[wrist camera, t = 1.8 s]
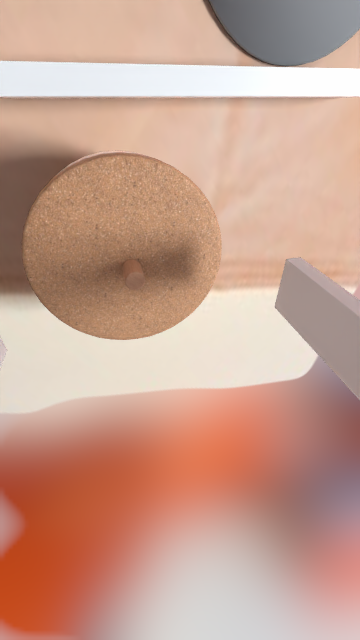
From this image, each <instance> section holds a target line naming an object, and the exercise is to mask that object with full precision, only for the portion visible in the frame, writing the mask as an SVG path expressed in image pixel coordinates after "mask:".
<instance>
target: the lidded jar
mask: <svg viewBox="0 0 360 640" xmlns="http://www.w3.org/2000/svg"><path fill="white" fill-rule="evenodd" d="M221 245H222V243H221V235H220V228H219V225H218V221H217V218H216V215H215V213H214V211H213V209H212V207H211V205H210V203H209V201H208V200H207V198H206V197H205V195H204V194H203V193H202V191H201V190H200V189H199V188H198V187H197V186H196V185H195V184H194V183H193V182H192V181H191V180H190V179H189V178H188V177H187V176H185V175H184V174H183V173H181V172H180V171H178V170H177V169H175V168H174V167H172V166H171V165H168V164H166V163H164V162H162V161H160V160H158V159H155V158H152V157H149V156H146V155H142V154H138V153H135V152H129V151H117V150H116V151H105V152H98V153H95V154H91V155H88V156H85V157H83V158H81V159H79V160H77V161H75V162H73V163H71V164H69V165H68V166H67V167H65V168H64V169H63V170H62V171H60V172H59V173H58V174H57V175H56V176H55V177H53V178H52V179H51V180H50V181H49V183H48V184H47V185H46V186H45V187H44V188H43V189H42V190H41V192H40V193H39V195H38V196H37V198H36V200H35V202H34V203H33V205H32V207H31V208H30V210H29V213H28V216H27V219H26V222H25V225H24V229H23V236H22V260H23V264H24V268H25V272H26V276H27V278H28V280H29V283H30V285H31V287H32V289H33V291H34V292H35V294H36V295H37V297H38V298H39V300H40V301H41V302H42V304H43V305H44V306H45V307H46V308H47V309H48V310H49V311H50V312H51V313H52V314H53V315H55V316H56V317H57V318H58V319H59V320H61V321H62V322H64V323H65V324H67V325H69V326H71V327H72V328H74V329H76V330H79V331H81V332H83V333H86V334H89V335H92V336H96V337H99V338H106V339H115V340H129V339H138V338H143V337H148V336H152V335H155V334H157V333H160V332H163V331H165V330H167V329H169V328H171V327H173V326H175V325H176V324H178V323H179V322H181V321H183V320H184V319H185V318H186V317H188V316H189V315H190V314H191V313H192V312H193V311H194V310H195V309H196V308H197V307H198V306H199V305H200V304H201V302H202V301H203V300H204V298H205V297H206V296H207V294H208V293H209V291H210V289H211V287H212V285H213V283H214V281H215V278H216V275H217V273H218V270H219V265H220V260H221Z"/></svg>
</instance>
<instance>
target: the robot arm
mask: <svg viewBox="0 0 360 640" xmlns="http://www.w3.org/2000/svg"><path fill="white" fill-rule="evenodd" d="M275 308H276V309H277V310H278V311H279V312H280V313H281V315H282V316H283V317H284V318H285V319H286V320H287V321H288V322H289V323H290V324H291V326H292V327H293V328H294V329H295V330H296V331H297V332H298V333H299V334H300V335H301V336H302V338H303V339H304V340H305V341H306V342H307V343H308V344H309V345H310V346H311V347H312V349H313V350H314V351H315V352H316V353H317V354H318V355H319V356H320V357H321V358H322V359H323V361H325V363H326V364H327V365H328V366H329V367H330V368H331V369H332V370H333V372H334V373H335V374H336V375H337V376H338V377H339V378H340V379H341V380H342V381H343V383H344V384H345V385H346V386H347V387H348V388H349V389H350V390H351V391H352V392H353V393H354V395H355V396H356V397H357V398H358V399H359V400H360V300H359V299H358V298H356V297H355V296H353V295H352V294H351V293H349V292H348V291H346V290H345V289H344V288H342V287H341V286H340V285H338V284H337V283H335V282H334V281H333V280H331V279H330V278H328V277H327V276H326V275H324V274H323V273H322V272H320V271H319V270H317V269H316V268H315V267H313V266H312V265H310V264H309V263H308V262H306V261H305V260H304V259H302V258H301V257H299V258H291V259H286V262H285V266H284V270H283V274H282V279H281V283H280V287H279V291H278V295H277V299H276V303H275ZM6 352H7V349H6V347H5V345H4V343H3V341H2V339H1V337H0V369H1V366H2V363H3V360H4V358H5V355H6Z"/></svg>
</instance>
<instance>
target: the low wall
mask: <svg viewBox="0 0 360 640" xmlns="http://www.w3.org/2000/svg"><path fill="white" fill-rule="evenodd" d="M0 97H3V98H342V97H360V69H340V68H295V67H250V66H206V65H161V64H116V63H72V62H27V61H0Z"/></svg>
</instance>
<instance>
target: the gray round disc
mask: <svg viewBox="0 0 360 640" xmlns="http://www.w3.org/2000/svg"><path fill="white" fill-rule="evenodd" d="M209 2H210V4H211V6H212V8H213V10H214V12H215V14H216V16H217V18H218V19H219V21H220V22H221V24H222V25H223V27H224V28H225V30H226V32H227V33H228V34H229V35H230V36H231V37H232V38H233V40H234V41H235V42H236V43H237V44H238V45H239V46H240V47H241V48H243V49H244V50H245V51H246V52H247V53H249V54H250V55H252V56H254V57H255V58H257V59H259V60H261V61H263V62H266V63H269V64H272V65H279V66H296V65H302V64H306V63H309V62H313V61H315V60H318V59H320V58H322V57H324V56H326V55H328V54H330V53H331V52H333V51H334V50H336V49H337V48H339V47H340V46H341V45H343V44H344V43H345V42H346V41H347V40H349V39H350V38H351V37H352V36H353V35H354V34H355V33H356V32H357V31H358V30H359V29H360V0H209Z"/></svg>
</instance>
